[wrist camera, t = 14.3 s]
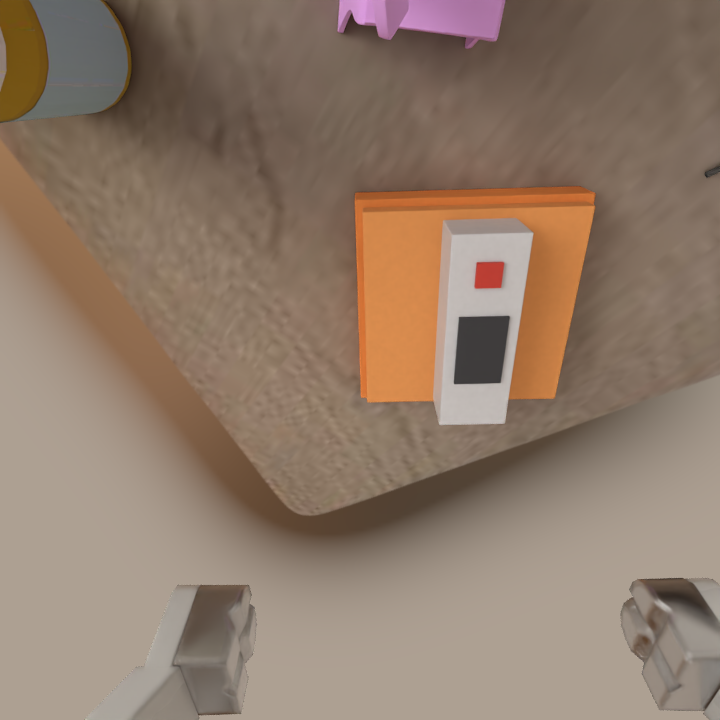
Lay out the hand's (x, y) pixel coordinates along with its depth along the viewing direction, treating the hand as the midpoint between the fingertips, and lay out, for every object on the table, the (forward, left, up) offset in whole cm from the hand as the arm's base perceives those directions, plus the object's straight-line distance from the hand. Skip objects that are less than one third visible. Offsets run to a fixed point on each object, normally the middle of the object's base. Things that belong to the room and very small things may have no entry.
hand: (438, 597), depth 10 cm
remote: (+5, +6, -25) cm, 26 cm away
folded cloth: (+5, +6, -29) cm, 30 cm away
